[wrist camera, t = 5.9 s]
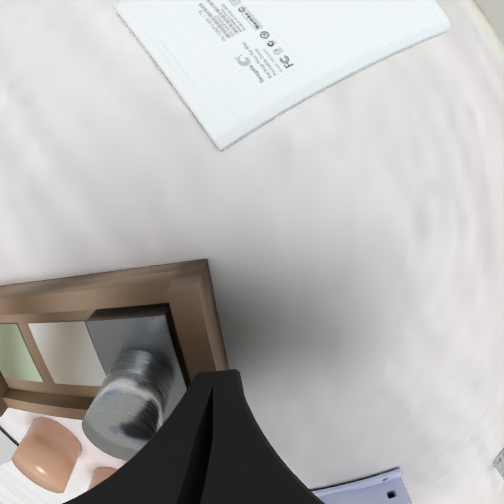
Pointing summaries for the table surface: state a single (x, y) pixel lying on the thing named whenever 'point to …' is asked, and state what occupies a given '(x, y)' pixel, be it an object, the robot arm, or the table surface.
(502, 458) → the supplement box
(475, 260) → the table surface
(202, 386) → the robot arm
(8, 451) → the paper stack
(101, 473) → the peach rounded cylinder
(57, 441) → the peach domed cylinder
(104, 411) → the slider
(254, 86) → the external hard drive
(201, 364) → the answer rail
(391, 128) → the table surface
